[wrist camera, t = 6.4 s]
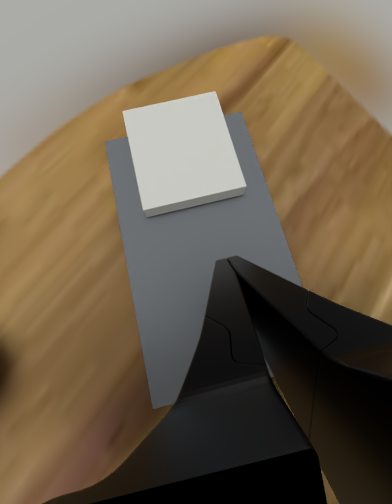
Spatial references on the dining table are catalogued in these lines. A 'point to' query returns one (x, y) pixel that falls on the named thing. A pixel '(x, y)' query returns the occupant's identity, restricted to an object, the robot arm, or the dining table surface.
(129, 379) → the dining table surface
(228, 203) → the mat
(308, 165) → the dining table surface
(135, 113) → the tile
